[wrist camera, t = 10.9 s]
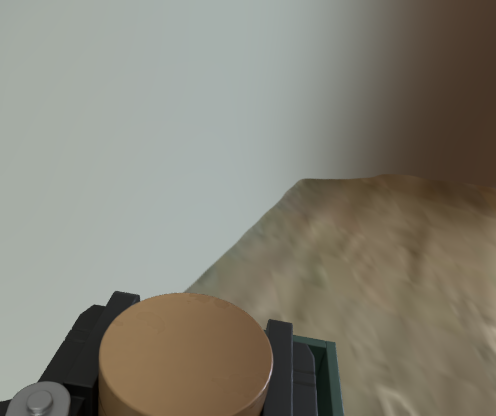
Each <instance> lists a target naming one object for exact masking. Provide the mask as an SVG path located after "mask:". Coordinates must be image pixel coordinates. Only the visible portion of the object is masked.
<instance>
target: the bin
mask: <svg viewBox="0 0 496 416" xmlns="http://www.w3.org/2000/svg"><path fill="white" fill-rule="evenodd" d="M264 332H266V330H264ZM293 341H295V342H301V343H306V344H307V345H308V347H309V348H310V350H311V352H312V354H313V356H314V359H315V376H316V393H317V410H318V416H344V410H343V401H342V393H341V385H340V377H339V369H338V360H337V352H336V344H335V342H330V341H326V342H325V341H324V340H318V339H313V338H307V337H301V336H296V335H293Z"/></svg>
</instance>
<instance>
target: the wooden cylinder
mask: <svg viewBox="0 0 496 416" xmlns="http://www.w3.org/2000/svg"><path fill="white" fill-rule="evenodd" d="M272 370H273V353H272V348H271V345H270V342H269V340H268V337H267V336H266V334H265V332H264V330H263V329H262V328H261V326H260V325H259V324H258V323H257V322H256V321H255V320H254V319H253V318H252V317H251V316H250V315H249V314H247V313H246V312H245V311H243V310H242V309H240V308H239V307H237V306H235V305H233V304H231V303H229V302H227V301H224V300H222V299H219V298H216V297H212V296H208V295H203V294H196V293H171V294H164V295H159V296H155V297H151V298H148V299H145V300H143V301H140V302H138V303H136V304H134V305H132V306H130V307H129V308H128V309H126V310H125V311H123V312H122V313H121V314H120V315H119V316H117V317H116V318H115V319H114V321H113V322H112V323H111V324H110V326H109V327H108V329H107V330H106V332H105V334H104V336H103V338H102V341H101V344H100V349H99V386H98V416H261V413H262V409H263V405H264V402H265V398H266V395H267V391H268V387H269V383H270V379H271V375H272Z"/></svg>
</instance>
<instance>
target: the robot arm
mask: <svg viewBox="0 0 496 416" xmlns="http://www.w3.org/2000/svg"><path fill="white" fill-rule="evenodd" d="M138 302H140V296H139V295H136V294H130V293H125V292H119V291H115V292H114V293H113V295H112V296H111V298H110V300H109V302H108V303H107V305H106V306H100V305H93V306H91V307H90V308H88V309H87V310H86V311H84V312H83V313H82V314H80V316H79V317H78V319H77V320H76V322H75V324H74V325H73V327H72V330H70V331H69V333H68V335H67V336H66V338H65V341H63V343H62V344H61V346H60V347H59V349H58V350H57V352H56V354H55V355H54V357H53V358H52V360H51V362H50V363H49V365H48V366H47V368H46V370H45V371H44V373H43V374H42V376H41V378H40V379H39V380H38V382H37V383H34V384H31V385H29V386H27V387H25V388H23V389H22V390H20V391H19V392H18V393H17V394H16V395H15V396H14V397H13V399H10V400H6V401H1V402H0V416H98V386H99V349H100V344H101V341H102V338H103V336H104V334H105V332H106V330H107V329H108V327H109V326H110V324H111V323H112V322H113V321H114V319H115V318H116V317H117V316H119V315H120V314H121V313H122V312H123V311H125V310H126V309H128V308H129V307H130V306H132V305H134V304H136V303H138ZM265 334H266V336H267V337H268V340H269V342H270V345H271V348H272V353H273V370H272V375H271V379H270V383H269V387H268V391H267V395H266V398H265V402H264V405H263V409H262V413H261V416H318V410H317V393H316V376H315V359H314V356H313V354H312V352H311V350H310V348H309V347H308V345H307V344H306V343H301V342H295V341H293V325H292V323H288V322H282V321H277V320H271V319H269V320H268V324H267V328H266V332H265Z"/></svg>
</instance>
